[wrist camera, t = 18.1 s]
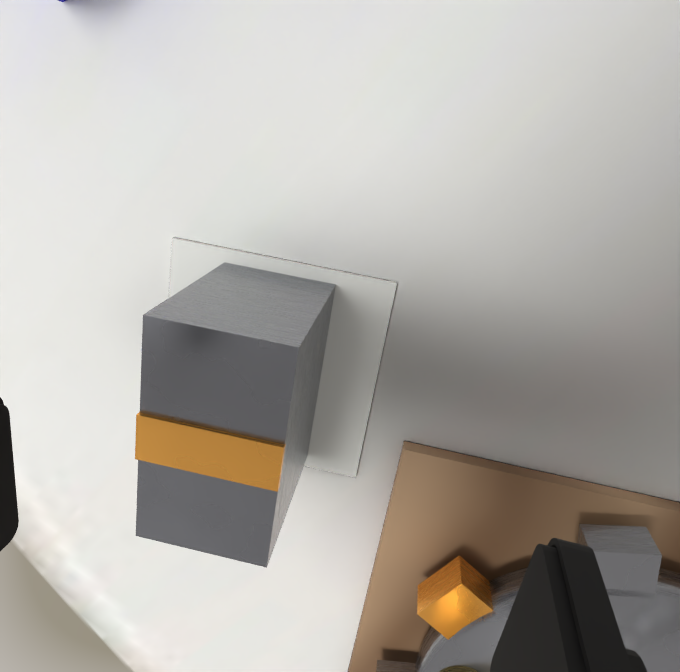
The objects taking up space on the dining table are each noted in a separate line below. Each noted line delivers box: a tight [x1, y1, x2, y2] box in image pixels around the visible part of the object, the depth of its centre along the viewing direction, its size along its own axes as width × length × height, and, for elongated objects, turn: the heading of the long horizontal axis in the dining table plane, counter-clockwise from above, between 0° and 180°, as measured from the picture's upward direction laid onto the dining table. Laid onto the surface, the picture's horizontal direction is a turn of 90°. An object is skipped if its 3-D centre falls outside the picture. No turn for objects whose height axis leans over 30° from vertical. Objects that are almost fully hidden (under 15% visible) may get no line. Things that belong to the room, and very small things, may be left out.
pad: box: [169, 237, 397, 478], centre depth 21 cm, size 8×8×1 cm
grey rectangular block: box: [135, 262, 336, 567], centre depth 18 cm, size 4×7×6 cm, turn 171°
